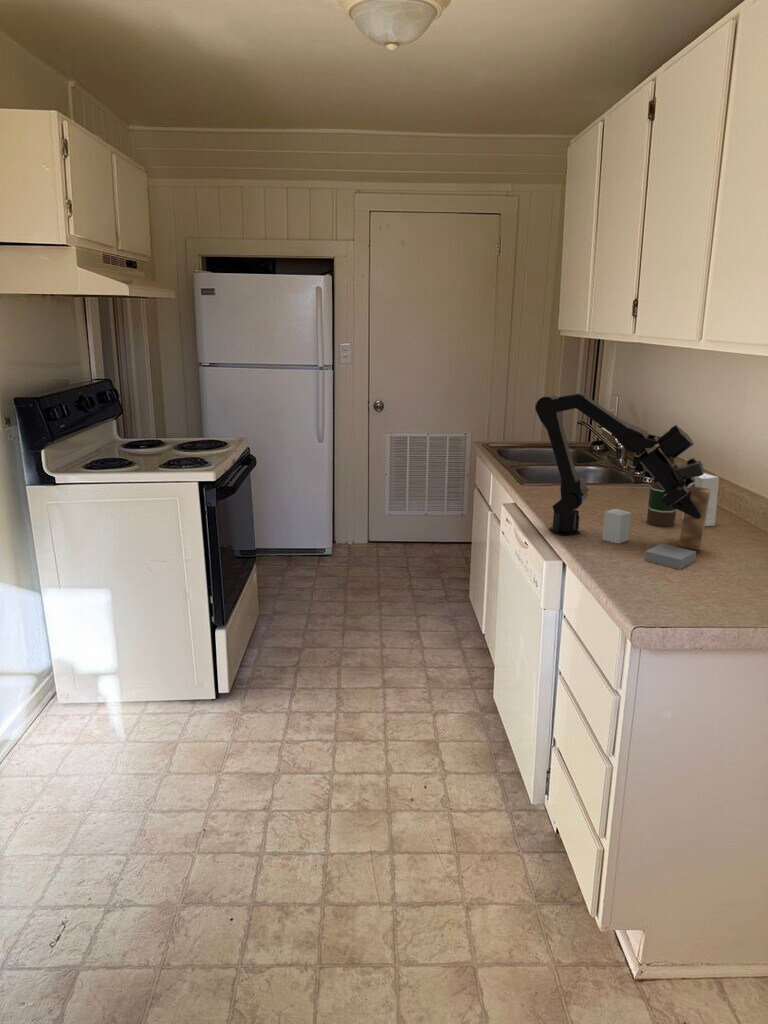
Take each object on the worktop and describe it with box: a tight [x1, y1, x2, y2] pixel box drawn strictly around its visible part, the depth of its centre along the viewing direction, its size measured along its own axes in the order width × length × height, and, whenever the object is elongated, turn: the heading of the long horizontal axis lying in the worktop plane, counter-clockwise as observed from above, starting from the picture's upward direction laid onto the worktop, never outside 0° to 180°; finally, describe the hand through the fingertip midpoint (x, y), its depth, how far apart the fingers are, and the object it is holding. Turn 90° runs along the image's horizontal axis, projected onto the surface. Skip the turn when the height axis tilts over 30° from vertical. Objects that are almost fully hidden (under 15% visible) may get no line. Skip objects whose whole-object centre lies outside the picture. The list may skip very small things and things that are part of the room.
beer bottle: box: [646, 451, 677, 528], centre depth 207 cm, size 8×8×24 cm
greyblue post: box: [601, 508, 632, 545], centre depth 194 cm, size 5×5×8 cm
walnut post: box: [678, 486, 711, 549], centre depth 184 cm, size 5×5×15 cm
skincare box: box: [681, 472, 720, 527], centre depth 209 cm, size 8×6×15 cm
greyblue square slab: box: [644, 543, 697, 570], centre depth 178 cm, size 9×9×3 cm
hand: (700, 515), depth 183 cm, fingers closed on walnut post, 5 cm apart
